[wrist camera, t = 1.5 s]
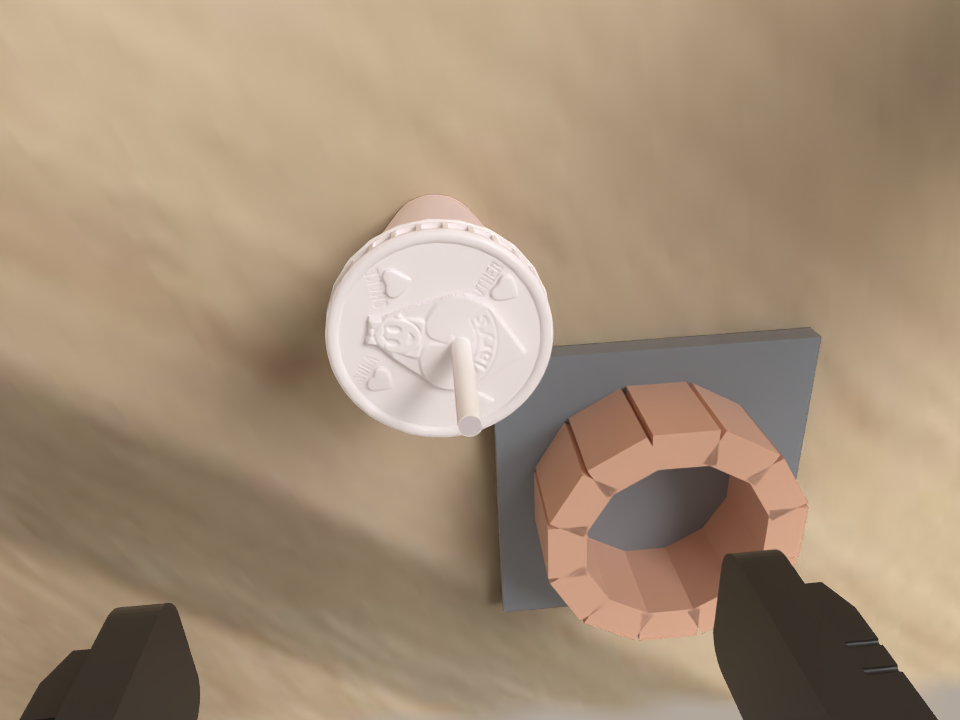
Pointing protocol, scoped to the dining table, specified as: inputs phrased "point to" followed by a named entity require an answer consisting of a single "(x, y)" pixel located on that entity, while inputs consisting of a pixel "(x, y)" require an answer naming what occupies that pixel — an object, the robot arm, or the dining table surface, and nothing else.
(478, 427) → the smoothie
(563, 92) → the dining table surface
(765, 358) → the collar
